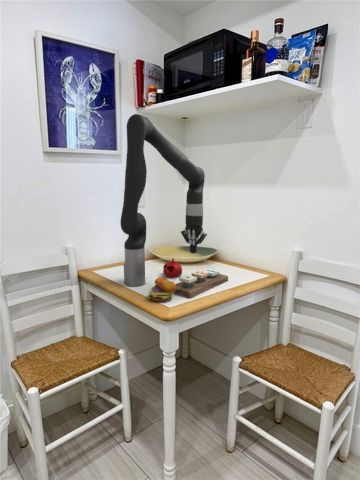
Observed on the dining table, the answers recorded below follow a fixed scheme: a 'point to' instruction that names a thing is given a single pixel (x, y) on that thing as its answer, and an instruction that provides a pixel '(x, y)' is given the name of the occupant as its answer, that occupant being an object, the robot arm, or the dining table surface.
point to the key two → (200, 275)
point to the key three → (212, 273)
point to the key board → (200, 286)
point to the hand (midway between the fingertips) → (193, 252)
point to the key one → (187, 280)
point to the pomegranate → (172, 269)
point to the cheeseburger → (162, 290)
